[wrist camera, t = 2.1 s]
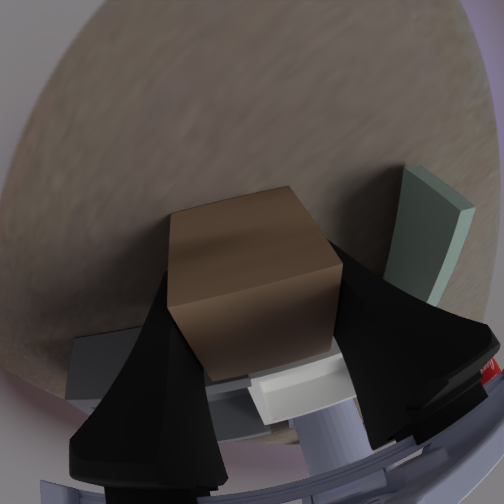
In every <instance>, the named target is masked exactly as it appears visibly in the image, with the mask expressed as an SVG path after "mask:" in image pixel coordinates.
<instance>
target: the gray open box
mask: <svg viewBox="0 0 504 504" xmlns="http://www.w3.org/2000/svg"><path fill="white" fill-rule="evenodd" d="M141 329H142V327H138V328H132V329H127V330H122V331H116V332H111V333H105V334H99V335H93V336H87V337H81V338H75V339H74V343H73V348H72V353H71V359H70V365H69V371H68V378H67V385H66V393H65V400H66V401H67V402H69V403H70V404H72V405H73V406H75V407H76V408H78V409H79V410H81V411H83V412H85V413H86V414H88V415H89V416H90V415H91V414H92V412H93V411H94V410H95V408H96V407H97V406H98V404H99V403H100V401H101V400H102V398H103V397H104V396H105V394H106V393H107V391H108V390H109V388H110V387H111V385H112V384H113V382H114V380H115V379H116V377H117V375H118V374H119V372H120V370H121V369H122V367H123V365H124V363H125V362H126V360H127V358H128V356H129V354H130V352H131V350H132V348H133V346H134V344H135V342H136V340H137V338H138V336H139V334H140V332H141ZM203 368H204V367H203ZM204 381H205V389H206V394H207V399H208V404H209V409H210V414H211V418H212V423H213V427H214V431H215V435H216V439H217V442H218V444H221V443H227V442H233V441H238V440H244V439H249V438H253V437H258V436H263V435H267V434H271V429H270V426H269V424H268V425H264V423H263V421H262V418H261V416H260V414H259V412H258V410H257V408H256V405H255V403H254V401H253V399H252V396H251V394H250V392H249V390H248V387H251V386H252V383H251V379H250V375H249V374H246V375H242V376H237V377H232V378H228V379H223V380H218V381H212V380H211V378H210V377H209V375H208V374H207V372H206V371H205V369H204Z"/></svg>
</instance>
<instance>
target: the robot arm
mask: <svg viewBox="0 0 504 504" xmlns="http://www.w3.org/2000/svg"><path fill="white" fill-rule="evenodd" d="M326 239H327V238H326ZM327 240H328V239H327ZM328 242H329V243H330V245H331V246H332V248H333V249H334V251H335V252H336V254H337V255H338V257H339V258H340V260H341V261H342V263H343V267H342V276H341V284H340V292H339V300H338V307H337V314H336V320H335V327H334V333H333V337H334V339H335V340H336V342H337V344H338V347H339V349H340V351H341V353H342V356H343V358H344V361H345V364H346V366H347V369H348V372H349V375H350V378H351V381H352V384H353V387H354V390H355V393H356V396H357V399H358V402H359V406H360V409H361V413H362V416H363V420H364V424H365V428H366V431H365V428H364V426H363V423H362V421H361V418H360V416H359V413H358V411H357V408H356V406H355V404H354V401H353V398H351V399H349V400H346V401H344V402H341V403H338V404H335V405H332V406H330V407H327V408H324V409H321V410H318V411H315V412H311V413H308V414H305V415H302V416H298V417H295V418H291V419H288V422H289V428H294V427H295V429H296V432H297V436H298V439H299V442H300V445H301V448H302V452H303V455H304V458H305V461H306V464H307V468H308V471H309V474H310V478H306V479H303V480H299V481H295V482H291V483H287V484H283V485H279V486H275V487H270V488H265V489H260V490H254V491H248V492H242V493H236V494H228V495H220V496H210V491H216V490H218V486H221V485H224V483H225V482H226V481H227V479H228V476H227V473H226V469H225V466H224V463H223V460H222V456H221V453H220V450H219V446H218V442H217V439H216V435H215V431H214V427H213V423H212V418H211V414H210V409H209V404H208V399H207V394H206V389H205V381H204V368H203V366H202V364H201V363H200V361H199V360H198V358H197V357H196V355H195V353H194V352H193V350H192V349H191V347H190V345H189V344H188V342H187V340H186V339H185V337H184V335H183V334H182V332H181V330H180V329H179V327H178V325H177V324H176V322H175V320H174V318H173V317H172V315H171V313H170V311H169V310H168V308H167V293H168V271H166V272H165V273H164V275H163V278H162V281H161V283H160V286H159V288H158V291H157V294H156V296H155V299H154V301H153V304H152V306H151V309H150V311H149V313H148V316H147V318H146V321H145V323H144V325H143V327H142V329H141V332H140V334H139V336H138V338H137V340H136V342H135V344H134V346H133V348H132V350H131V352H130V354H129V356H128V358H127V360H126V362H125V363H124V365H123V367H122V369H121V370H120V372H119V374H118V375H117V377H116V379H115V380H114V382H113V384H112V385H111V387H110V388H109V390H108V391H107V393H106V394H105V396H104V397H103V398H102V400H101V401H100V403H99V404H98V406H97V407H96V408H95V410H94V411H93V412H92V414H91V415H90V416H89V418H88V419H87V420H86V421H85V422H84V423H83V425H82V426H81V427H80V428H79V429H78V431H77V432H76V433H75V434H74V435H73V436H72V437H71V438H70V442H69V443H70V444H69V470H70V471H69V473H70V476H71V477H72V478H73V479H75V480H78V481H82V482H86V483H90V484H95V485H99V486H103V487H104V490H105V494H101V493H95V492H89V491H83V490H78V489H76V488H72V487H67V486H64V485H60V484H56V483H52V482H48V481H44V480H40V493H41V504H280V503H285V502H289V501H293V500H297V499H301V498H302V504H459V503H460V502H461V501H462V500H463V499H464V498H465V497H466V496H467V495H468V494H469V493H470V492H471V491H472V490H473V489H474V488H475V487H476V486H477V485H478V484H479V483H480V482H481V481H482V480H483V479H484V478H485V477H486V476H487V475H488V474H489V473H490V471H491V470H492V469H493V468H494V467H495V466H496V465H497V463H498V462H499V461H500V460H501V458H502V457H503V456H504V369H503V370H502V372H501V373H500V374H498V375H497V376H496V377H495V378H494V379H493V380H491V381H490V382H489V383H488V384H487V385H486V386H484V387H483V385H482V384H481V382H480V381H481V380H482V379H483V375H482V373H481V371H480V370H481V369H482V368H483V367H484V366H485V365H486V364H487V363H488V362H489V361H490V360H491V358H492V357H493V356H494V355H495V354H496V353H497V352H498V350H499V349H500V343H499V341H498V340H497V338H496V337H495V335H494V334H493V332H492V331H491V329H490V328H489V326H488V325H486V324H483V323H480V322H476V321H473V320H470V319H466V318H463V317H460V316H458V315H455V314H452V313H450V312H447V311H444V310H442V309H440V308H437V307H435V306H433V305H431V304H428V303H426V302H424V301H422V300H420V299H418V298H416V297H414V296H412V295H410V294H408V293H406V292H405V291H403V290H401V289H399V288H397V287H396V286H394V285H392V284H391V283H389V282H387V281H386V280H384V279H383V278H381V277H379V276H378V275H376V274H375V273H373V272H372V271H370V270H369V269H367V268H366V267H364V266H363V265H362V264H360V263H359V262H358V261H356V260H355V259H353V258H352V257H351V256H349V255H348V254H347V253H345V252H344V251H343V250H341V249H340V248H339V247H337V246H336V245H335V244H333V243H332V242H331V241H329V240H328ZM366 432H367V433H366ZM394 440H396V442H397V443H396V444H394V445H392V446H390V447H388V448H386V449H383V450H381V451H379V452H377V453H374V451H373V450H376V449H378V448H380V447H382V446H384V445H386V444H388V443H390V442H392V441H394ZM423 447H424V448H423ZM421 448H423V450H422V454H421V455H418V456H416V457H414V458H412V459H410V460H408V461H406V462H404V463H402V464H400V465H398V466H396V467H395V466H394V465H393V464H394V463H395V462H397V461H399V460H401V459H403V458H405V457H407V456H409V455H411V454H412V453H414V452H416V451H418V450H419V449H421Z"/></svg>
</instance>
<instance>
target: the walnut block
mask: <svg viewBox="0 0 504 504" xmlns="http://www.w3.org/2000/svg"><path fill="white" fill-rule="evenodd" d="M342 267H343V263H342V261H341V260H340V258H339V257H338V255H337V254H336V252H335V251H334V249H333V248H332V246H331V245H330V243H329V242H328V240H327V239H326V237H325V236H324V234H323V233H322V232H321V230H320V229H319V227H318V226H317V224H316V223H315V221H314V220H313V219H312V217H311V216H310V214H309V213H308V211H307V210H306V209H305V207H304V206H303V204H302V203H301V202H300V200H299V199H298V198H297V196H296V195H295V193H294V192H293V191H292V189H291V188H290V187H289V186H286V187H282V188H277V189H272V190H267V191H263V192H258V193H254V194H249V195H245V196H240V197H236V198H232V199H227V200H223V201H219V202H215V203H211V204H207V205H203V206H199V207H195V208H191V209H187V210H183V211H179V212H176V213H172V214H171V220H170V236H169V256H168V293H167V308H168V310H169V311H170V313H171V315H172V317H173V318H174V320H175V322H176V324H177V325H178V327H179V329H180V330H181V332H182V334H183V335H184V337H185V339H186V340H187V342H188V344H189V345H190V347H191V349H192V350H193V352H194V353H195V355H196V357H197V358H198V360H199V361H200V363H201V364H202V366H203V367H204V369H205V371H206V372H207V374H208V375H209V377H210V378H211V380H212V381H218V380H223V379H228V378H232V377H237V376H242V375H246V374H250V373H254V372H258V371H262V370H266V369H270V368H274V367H278V366H281V365H285V364H289V363H292V362H296V361H299V360H302V359H306V358H309V357H312V356H315V355H319V354H322V353H325V352H328V351H330V350H331V344H332V339H333V333H334V327H335V320H336V314H337V307H338V300H339V292H340V284H341V276H342Z"/></svg>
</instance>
